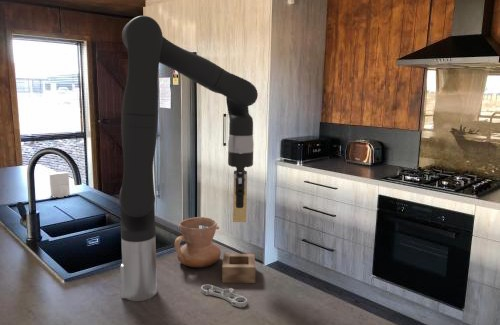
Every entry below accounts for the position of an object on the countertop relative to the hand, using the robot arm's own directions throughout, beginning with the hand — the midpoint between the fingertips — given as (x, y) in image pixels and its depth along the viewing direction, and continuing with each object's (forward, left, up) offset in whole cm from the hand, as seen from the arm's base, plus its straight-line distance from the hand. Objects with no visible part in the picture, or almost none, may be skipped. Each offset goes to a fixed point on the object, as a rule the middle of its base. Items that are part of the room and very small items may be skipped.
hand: (239, 205), depth 125 cm
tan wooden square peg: (0, 0, -5) cm, 5 cm away
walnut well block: (0, 0, -23) cm, 23 cm away
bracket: (-4, -13, -24) cm, 28 cm away
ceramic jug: (-14, +9, -23) cm, 29 cm away
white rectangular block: (-95, +92, -23) cm, 134 cm away
